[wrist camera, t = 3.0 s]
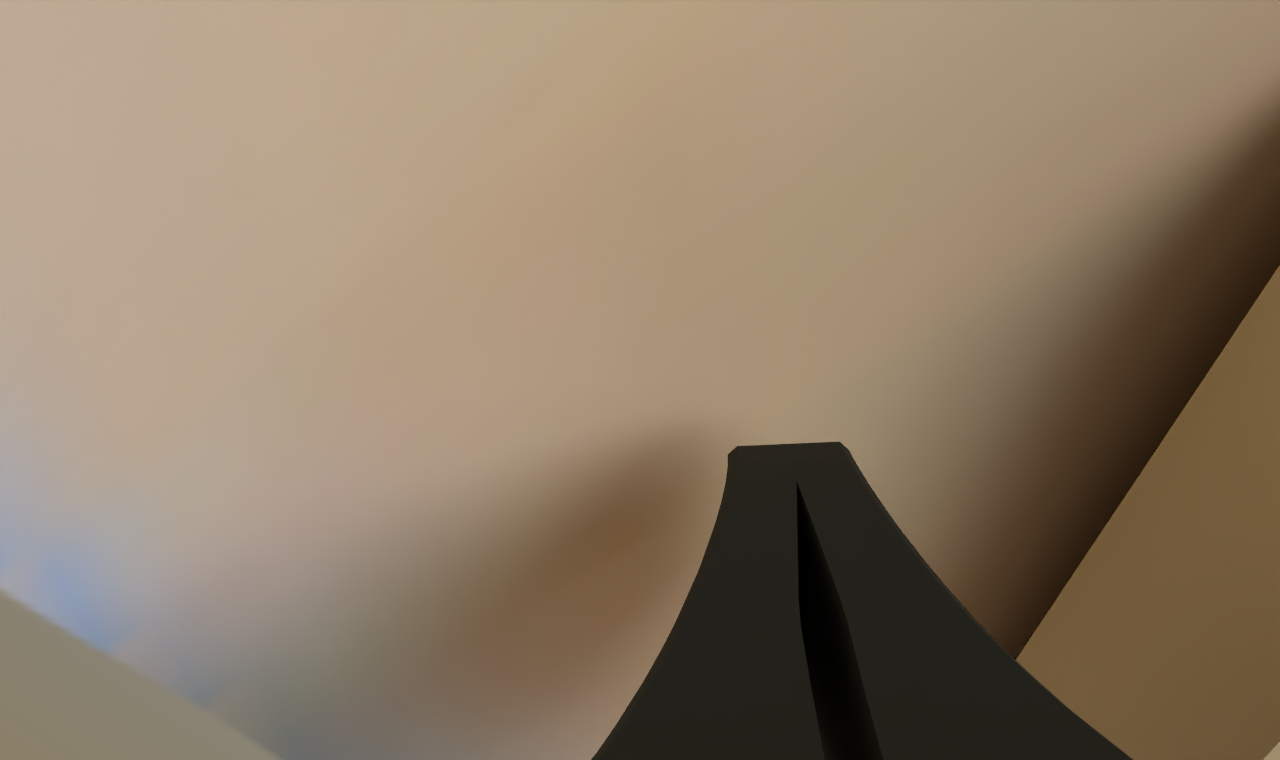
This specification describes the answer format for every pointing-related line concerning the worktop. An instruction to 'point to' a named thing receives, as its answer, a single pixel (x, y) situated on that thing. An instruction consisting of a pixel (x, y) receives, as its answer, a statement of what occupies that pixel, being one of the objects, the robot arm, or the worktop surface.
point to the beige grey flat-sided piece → (1186, 578)
